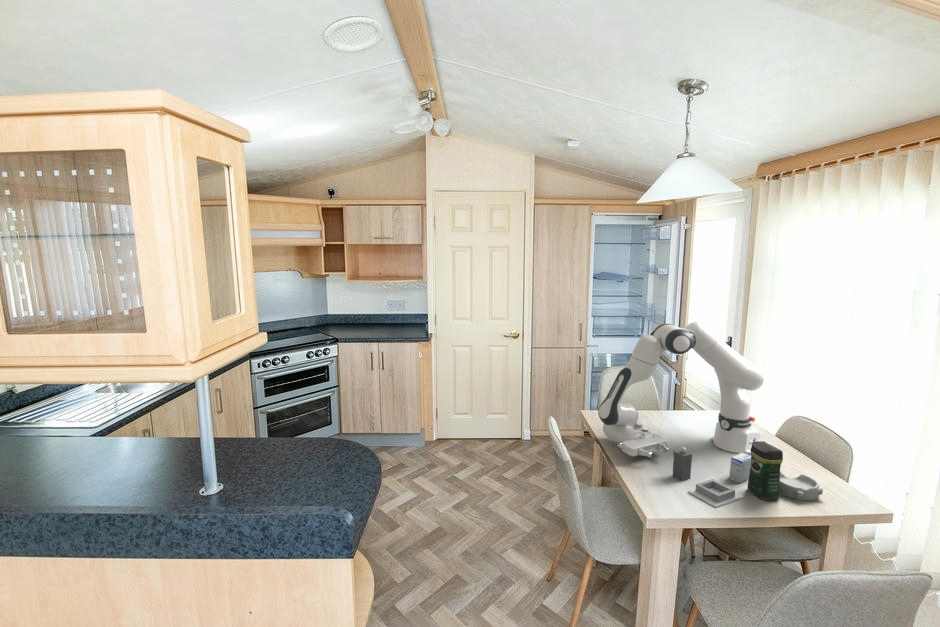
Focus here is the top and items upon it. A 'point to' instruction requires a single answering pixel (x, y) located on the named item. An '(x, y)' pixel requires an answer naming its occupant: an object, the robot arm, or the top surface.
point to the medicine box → (740, 467)
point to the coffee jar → (765, 470)
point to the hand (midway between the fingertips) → (659, 452)
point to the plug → (682, 464)
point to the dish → (800, 487)
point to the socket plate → (715, 493)
